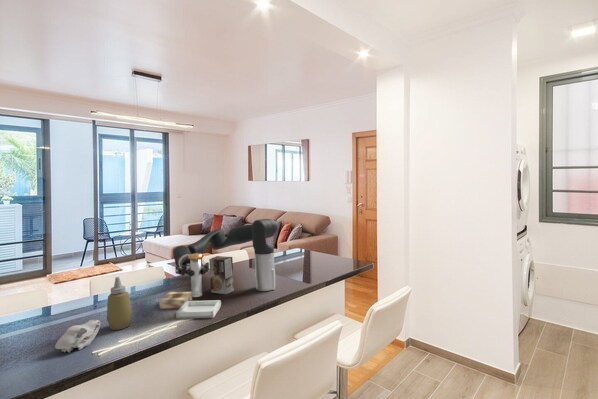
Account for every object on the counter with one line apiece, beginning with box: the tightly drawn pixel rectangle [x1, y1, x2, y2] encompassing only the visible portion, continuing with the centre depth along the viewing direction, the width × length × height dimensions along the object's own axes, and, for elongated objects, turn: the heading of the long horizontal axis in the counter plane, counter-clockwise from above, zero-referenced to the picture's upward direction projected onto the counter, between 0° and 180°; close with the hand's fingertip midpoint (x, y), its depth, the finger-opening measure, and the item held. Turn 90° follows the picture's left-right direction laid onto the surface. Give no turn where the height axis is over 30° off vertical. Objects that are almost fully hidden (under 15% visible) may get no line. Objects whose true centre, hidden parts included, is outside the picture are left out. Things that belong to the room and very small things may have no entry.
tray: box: [175, 299, 222, 320], centre depth 130 cm, size 14×12×2 cm
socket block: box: [158, 291, 193, 309], centre depth 140 cm, size 10×10×4 cm
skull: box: [54, 319, 102, 354], centre depth 105 cm, size 8×9×12 cm
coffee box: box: [208, 255, 235, 295], centre depth 155 cm, size 9×6×16 cm
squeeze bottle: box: [106, 276, 133, 331], centre depth 118 cm, size 8×8×18 cm
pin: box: [189, 253, 203, 298], centre depth 130 cm, size 5×5×16 cm
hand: (197, 273), depth 127 cm, fingers closed on pin, 4 cm apart
